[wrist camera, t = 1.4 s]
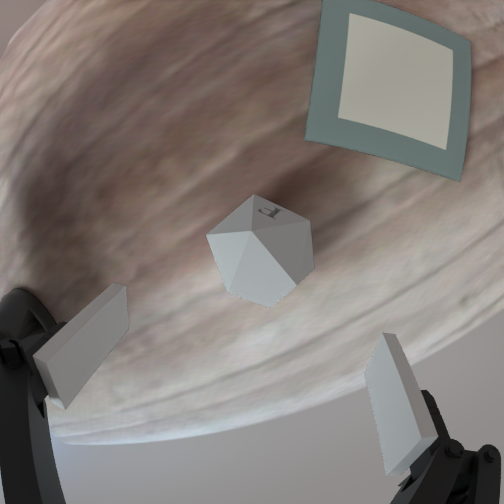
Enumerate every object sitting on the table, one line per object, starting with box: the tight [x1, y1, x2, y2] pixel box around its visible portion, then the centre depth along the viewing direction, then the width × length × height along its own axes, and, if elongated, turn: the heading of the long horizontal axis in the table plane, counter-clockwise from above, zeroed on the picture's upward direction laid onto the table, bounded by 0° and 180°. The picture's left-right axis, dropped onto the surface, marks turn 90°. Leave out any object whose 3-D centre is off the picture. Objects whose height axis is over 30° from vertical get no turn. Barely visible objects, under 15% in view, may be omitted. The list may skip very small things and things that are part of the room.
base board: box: [304, 0, 471, 182], centre depth 21 cm, size 16×16×2 cm
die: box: [206, 194, 314, 308], centre depth 25 cm, size 8×9×10 cm
